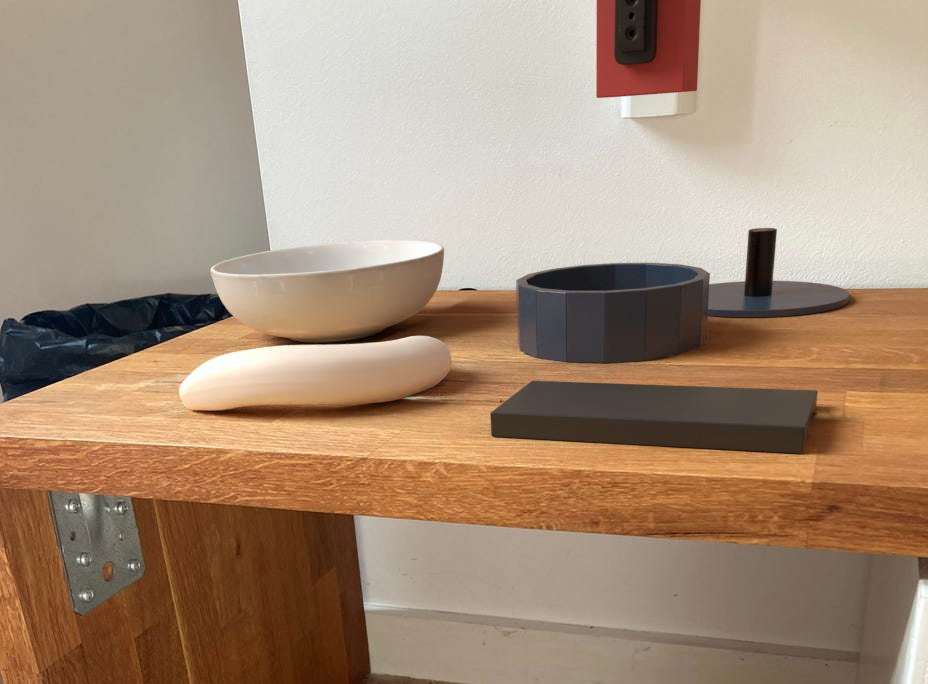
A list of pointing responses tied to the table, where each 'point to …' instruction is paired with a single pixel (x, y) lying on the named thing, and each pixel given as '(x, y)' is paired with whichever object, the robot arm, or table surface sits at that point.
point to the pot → (612, 312)
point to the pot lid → (770, 287)
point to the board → (659, 415)
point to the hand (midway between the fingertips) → (645, 62)
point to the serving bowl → (330, 288)
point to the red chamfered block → (673, 52)
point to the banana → (318, 374)
